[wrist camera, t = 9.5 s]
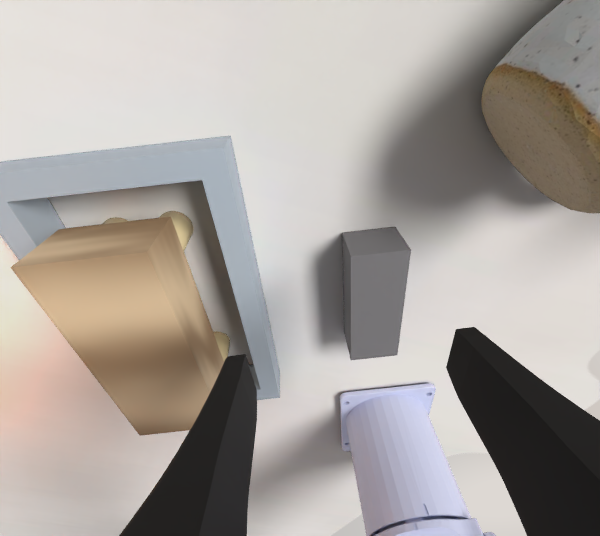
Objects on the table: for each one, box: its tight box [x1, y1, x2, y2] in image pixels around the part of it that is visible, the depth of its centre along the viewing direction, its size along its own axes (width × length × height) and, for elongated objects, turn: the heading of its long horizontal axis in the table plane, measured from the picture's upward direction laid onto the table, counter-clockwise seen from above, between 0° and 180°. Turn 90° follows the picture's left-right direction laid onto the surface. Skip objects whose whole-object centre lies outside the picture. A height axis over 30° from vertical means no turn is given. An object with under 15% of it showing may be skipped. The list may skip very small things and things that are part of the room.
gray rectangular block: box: [342, 227, 411, 360], centre depth 19 cm, size 8×3×2 cm, turn 5°
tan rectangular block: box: [11, 217, 224, 435], centre depth 16 cm, size 12×5×3 cm, turn 5°
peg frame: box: [0, 136, 280, 400], centre depth 18 cm, size 17×11×2 cm, turn 5°
